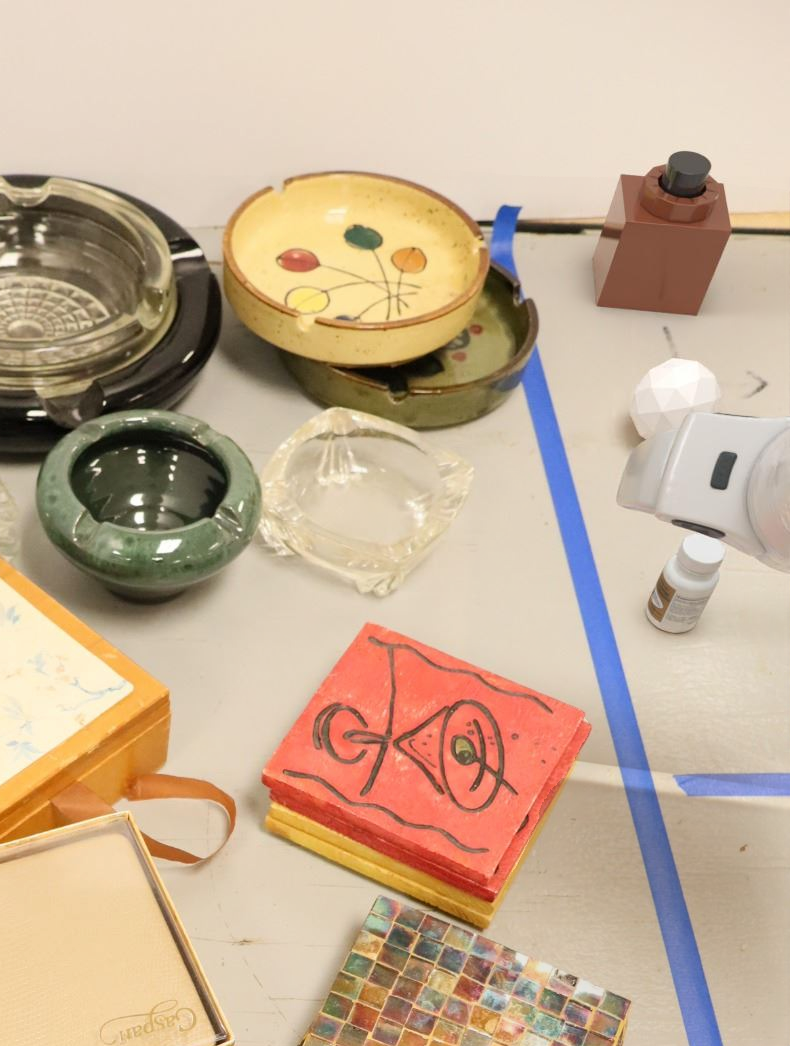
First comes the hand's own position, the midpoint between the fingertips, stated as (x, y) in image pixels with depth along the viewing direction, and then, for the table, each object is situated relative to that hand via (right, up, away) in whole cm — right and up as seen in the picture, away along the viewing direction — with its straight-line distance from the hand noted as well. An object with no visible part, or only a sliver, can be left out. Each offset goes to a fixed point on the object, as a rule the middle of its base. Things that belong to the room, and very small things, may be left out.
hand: (752, 523), depth 98 cm
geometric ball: (+7, +17, +35) cm, 40 cm away
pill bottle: (+3, -2, +23) cm, 24 cm away
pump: (+10, +42, +39) cm, 58 cm away
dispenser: (+10, +37, +48) cm, 61 cm away
